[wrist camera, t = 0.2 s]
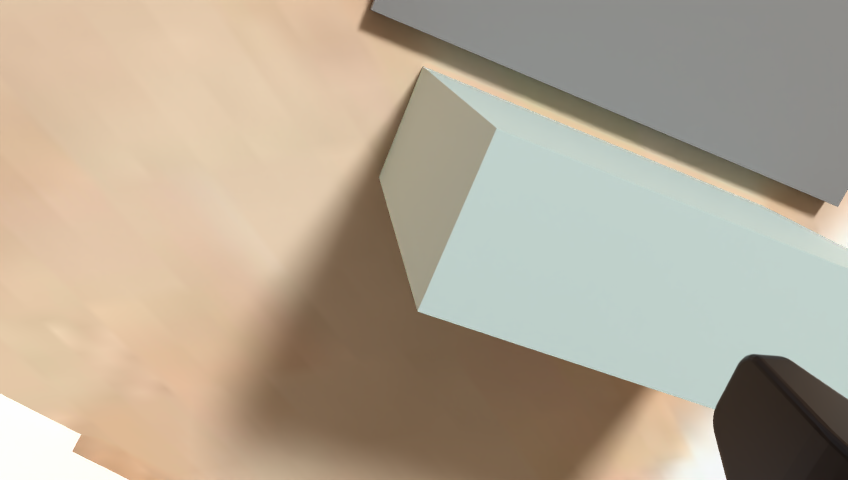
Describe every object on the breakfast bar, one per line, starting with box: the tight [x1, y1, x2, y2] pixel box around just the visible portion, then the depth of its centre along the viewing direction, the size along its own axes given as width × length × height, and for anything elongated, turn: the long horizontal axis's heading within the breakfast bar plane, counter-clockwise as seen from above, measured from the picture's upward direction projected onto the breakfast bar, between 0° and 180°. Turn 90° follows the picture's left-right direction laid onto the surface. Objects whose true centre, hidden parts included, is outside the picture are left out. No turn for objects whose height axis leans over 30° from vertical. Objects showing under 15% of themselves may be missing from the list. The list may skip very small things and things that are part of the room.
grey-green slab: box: [379, 67, 848, 409], centre depth 19 cm, size 4×12×10 cm, turn 68°
